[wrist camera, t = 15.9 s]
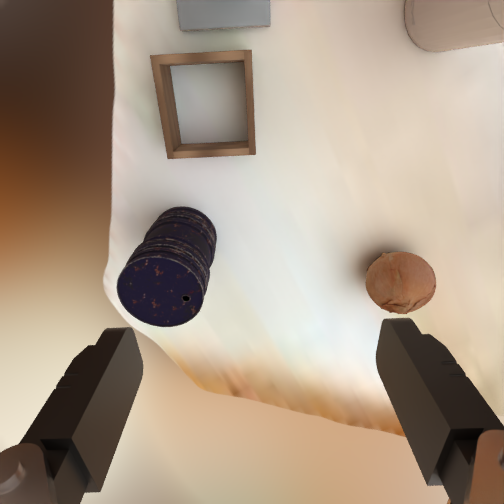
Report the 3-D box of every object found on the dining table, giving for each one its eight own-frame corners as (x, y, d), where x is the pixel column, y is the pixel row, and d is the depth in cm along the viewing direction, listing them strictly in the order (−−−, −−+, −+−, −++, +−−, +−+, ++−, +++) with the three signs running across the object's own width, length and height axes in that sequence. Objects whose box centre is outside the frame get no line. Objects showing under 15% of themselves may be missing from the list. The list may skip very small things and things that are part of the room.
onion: (372, 276, 56) (374, 328, 50) (358, 243, 50) (358, 298, 44) (434, 268, 51) (444, 326, 45) (426, 231, 45) (437, 291, 39)
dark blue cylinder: (150, 257, 50) (114, 320, 37) (154, 199, 46) (115, 247, 33) (212, 268, 51) (198, 333, 38) (222, 213, 47) (211, 265, 34)
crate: (251, 53, 37) (251, 49, 33) (255, 146, 42) (255, 154, 38) (161, 58, 37) (150, 55, 33) (176, 150, 42) (167, 158, 38)
